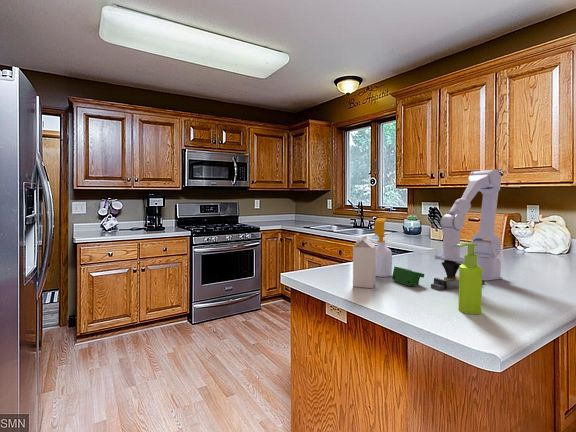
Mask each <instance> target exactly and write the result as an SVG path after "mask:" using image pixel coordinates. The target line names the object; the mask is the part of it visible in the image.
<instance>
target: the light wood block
mask: <svg viewBox="0 0 576 432" xmlns="http://www.w3.org/2000/svg"><path fill="white" fill-rule="evenodd" d="M454 279H457V280H459V275H455V276H451V277H447V276H445V277H443V280H454Z"/></svg>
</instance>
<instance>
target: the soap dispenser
mask: <svg viewBox="0 0 576 432" xmlns="http://www.w3.org/2000/svg"><path fill="white" fill-rule="evenodd" d="M457 246H460V248H461V247H467V252H466V253H464V255H463V258H464V265H463V264H461V265H460V266H459V269H458V270H459V271H458V272H459V273H458V276H459V288H458V311H460V312H462V313H464V314H470V315H480V314H481V313H482V296H483V293H482V292H483V291H482V290H483V289H482V288H483V284H482V267H480V266H477V258H478V256H477V255H476V254H475V253H474V246H478V244H475V243H471V242H460V244H457Z"/></svg>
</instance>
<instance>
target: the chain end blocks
mask: <svg viewBox="0 0 576 432" xmlns="http://www.w3.org/2000/svg"><path fill="white" fill-rule="evenodd" d="M485 281H486V280H482V285H485V283H486V282H485ZM430 288H431V289H434V290H437V291H444V290H445V291H446V290H447V291H448V290H455V289H459V280H457V279H454V280H444V278H443V279H442V278H439V277H434V278H433V283H430Z"/></svg>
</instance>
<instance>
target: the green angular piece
mask: <svg viewBox="0 0 576 432" xmlns="http://www.w3.org/2000/svg"><path fill="white" fill-rule="evenodd" d="M393 267H394V268H393V269H392V275H391V276H392V277H391V279H392V281H394V282H397V283H398V284H402V285H406V286H408V287H412V288H413V287H415V286H416V285H419V284H420V279H421V278H425V273H422V272H419V271H414V270H411V269H408V268H404V267H401V266H400V267H399V266H395V265H394V266H393Z"/></svg>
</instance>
